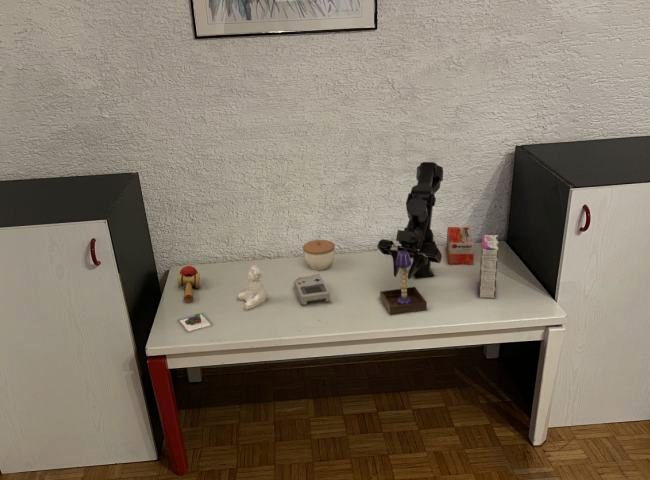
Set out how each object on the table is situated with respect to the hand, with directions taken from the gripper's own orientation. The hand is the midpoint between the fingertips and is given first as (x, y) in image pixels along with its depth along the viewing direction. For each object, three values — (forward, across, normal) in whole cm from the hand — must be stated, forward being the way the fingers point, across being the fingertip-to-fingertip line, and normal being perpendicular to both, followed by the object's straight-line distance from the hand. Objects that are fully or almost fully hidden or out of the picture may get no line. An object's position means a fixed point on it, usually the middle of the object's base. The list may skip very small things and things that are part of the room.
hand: (401, 277), depth 205 cm
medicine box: (-23, +4, +37) cm, 44 cm away
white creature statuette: (+17, -43, -4) cm, 47 cm away
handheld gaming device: (+10, -29, +4) cm, 31 cm away
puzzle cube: (+31, -52, -17) cm, 63 cm away
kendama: (+19, -67, -5) cm, 70 cm away
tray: (+6, 0, +8) cm, 10 cm away
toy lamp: (+6, 0, +8) cm, 9 cm away
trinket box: (-5, -37, +19) cm, 41 cm away
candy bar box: (-7, +20, +21) cm, 30 cm away
